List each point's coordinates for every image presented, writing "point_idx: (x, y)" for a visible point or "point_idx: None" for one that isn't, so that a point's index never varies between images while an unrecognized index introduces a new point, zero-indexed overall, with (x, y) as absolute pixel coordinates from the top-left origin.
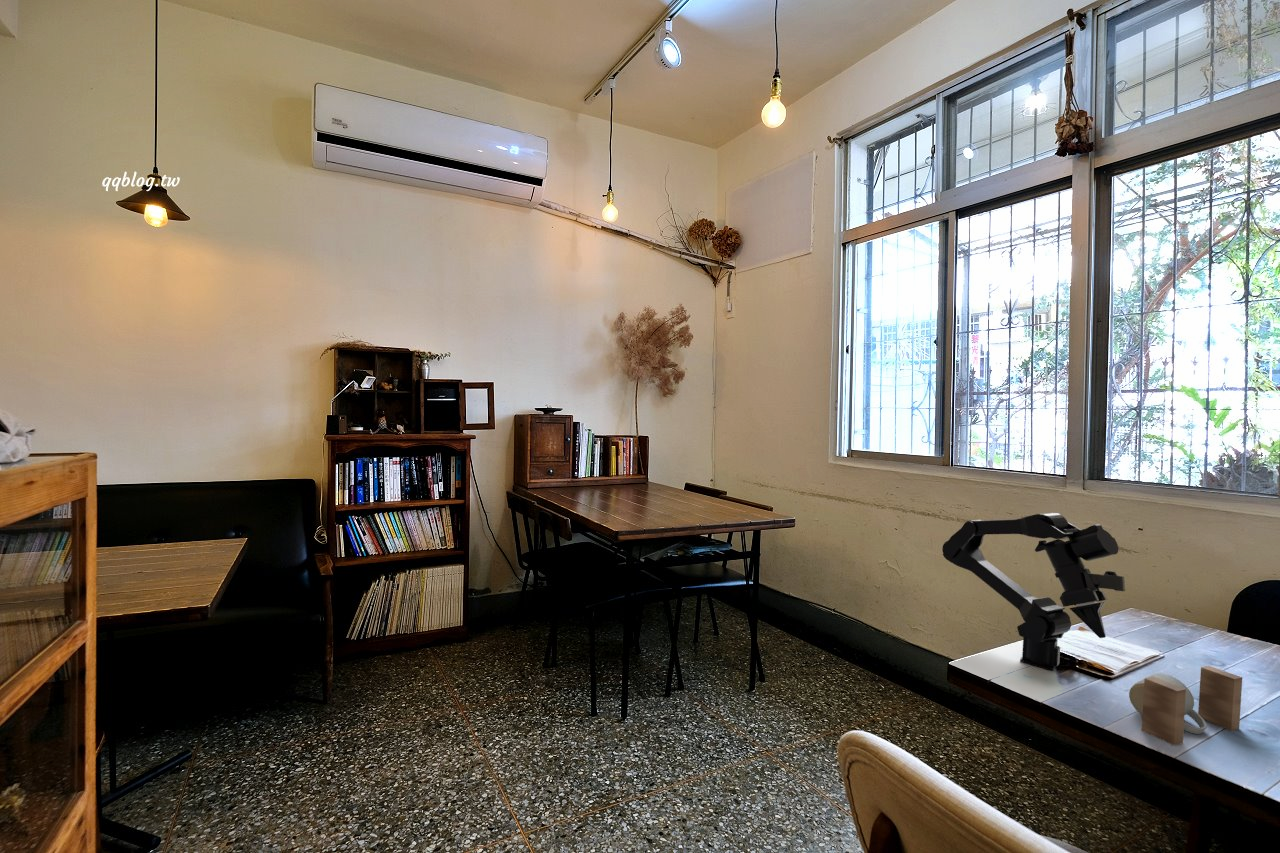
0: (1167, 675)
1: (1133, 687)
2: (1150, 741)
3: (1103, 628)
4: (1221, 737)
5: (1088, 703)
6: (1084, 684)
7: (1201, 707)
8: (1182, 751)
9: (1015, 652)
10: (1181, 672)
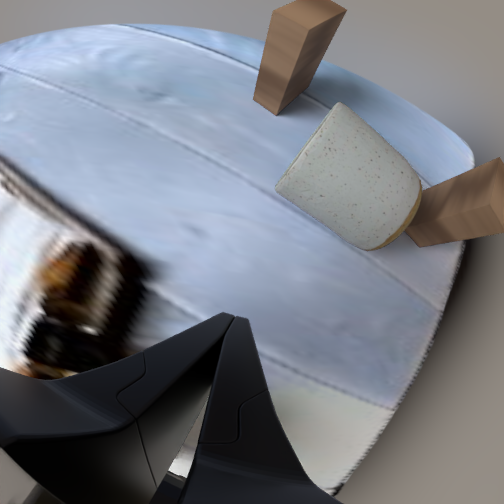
0: (337, 125)
1: (393, 240)
2: None
3: (219, 338)
4: None
5: (354, 334)
6: None
7: (284, 98)
8: None
9: None
10: (30, 112)
